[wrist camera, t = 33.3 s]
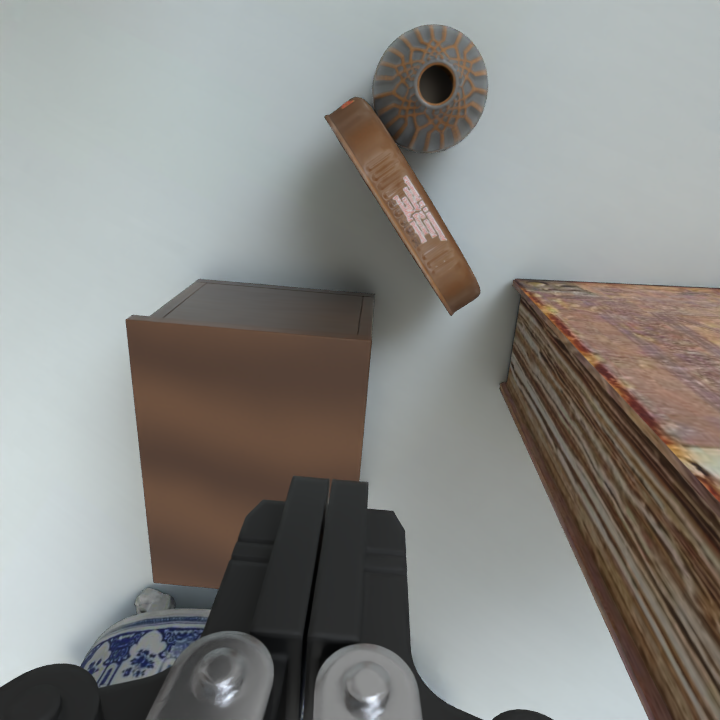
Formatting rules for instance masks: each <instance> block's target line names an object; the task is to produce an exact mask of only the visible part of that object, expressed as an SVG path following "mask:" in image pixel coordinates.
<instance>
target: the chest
mask: <svg viewBox="0 0 720 720" xmlns="http://www.w3.org/2000/svg"><path fill="white" fill-rule="evenodd" d="M374 300H375V294H368V293H357V292H345V291H333V290H321V289H310V288H298V287H286V286H275V285H263V284H251V283H240V282H228V281H216V280H205V279H198V280H197V281H196V282H194V283H193V284H192V285H190V286H189V287H188V288H186V289H185V290H184V291H182V292H181V293H180V294H178V295H177V296H176V297H174V298H173V299H172V300H170V301H169V302H168V303H166V304H165V305H164V306H162V307H161V308H160V309H158V310H157V311H156V312H154V313H153V314H152V315H150V316H151V317H162V318H174V319H185V320H197V321H209V322H220V323H232V324H243V325H255V326H266V327H278V328H289V329H301V330H313V331H324V332H336V333H347V334H359V335H370V336H372V328H373V314H374Z"/></svg>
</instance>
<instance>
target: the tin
mask: <svg viewBox="0 0 720 720" xmlns="http://www.w3.org/2000/svg"><path fill="white" fill-rule="evenodd" d="M325 119H326V120H327V122H328V124H329V125H330V127H331V129H332V130H333V132H334V133H335V135H336V137H337V138H338V140H339V142H340V144H341V145H342V147H343V148H344V150H345V151H346V153H347V155H348V156H349V158H350V159H351V161H352V162H353V164H354V165H355V167H356V168H357V170H358V172H359V173H360V175H361V177H362V178H363V180H364V181H365V183H366V184H367V186H368V188H369V189H370V191H371V192H372V194H373V195H374V197H375V199H376V200H377V202H378V203H379V205H380V206H381V208H382V210H383V211H384V213H385V214H386V216H387V217H388V219H389V221H390V222H391V224H392V225H393V227H394V229H395V230H396V232H397V233H398V235H399V237H400V238H401V240H402V241H403V243H404V245H405V246H406V248H407V249H408V251H409V252H410V254H411V255H412V257H413V259H414V260H415V262H416V263H417V265H418V266H419V268H420V269H421V271H422V272H423V274H424V276H425V277H426V279H427V280H428V282H429V283H430V285H431V286H432V288H433V289H434V291H435V292H436V294H437V295H438V297H439V299H440V300H441V302H442V303H443V305H444V306H445V308H446V310H447V311H448V313H449V314H450V316H452V315H453V313H454V312H455V311H457V310H459V309H460V308H462V307H463V306H465V305H467V304H468V303H470V302H471V301H473V300H474V299H476V298H477V297H478V296H479V294H480V287H479V285H478V282H477V280H476V278H475V276H474V274H473V272H472V270H471V268H470V267H469V265H468V263H467V261H466V260H465V258H464V256H463V254H462V252H461V251H460V249H459V247H458V245H457V244H456V242H455V240H454V239H453V237H452V235H451V234H450V232H449V230H448V229H447V227H446V225H445V223H444V222H443V220H442V218H441V217H440V215H439V213H438V211H437V210H436V208H435V206H434V205H433V203H432V201H431V200H430V198H429V196H428V195H427V193H426V192H425V190H424V188H423V187H422V185H421V183H420V182H419V180H418V178H417V177H416V175H415V173H414V172H413V170H412V169H411V167H410V165H409V164H408V162H407V161H406V159H405V157H404V156H403V154H402V153H401V151H400V149H399V148H398V146H397V144H396V143H395V141H394V140H393V138H392V137H391V135H390V133H389V132H388V130H387V129H386V127H385V126H384V124H383V123H382V121H381V120H380V118H379V117H378V116H377V114H376V113H375V112H374V110H373V109H372V108H371V106H370V105H369V104H368V103H367V102H366V101H365V100H364V99H362V98H359V97H354V98H352V99H350V100H349V101H347V102H346V103H345V104H343V105H342V106H341V107H339V108H338V109H337V110H336V111H334V112H333V113H332V114H330V115H325Z"/></svg>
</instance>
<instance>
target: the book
mask: <svg viewBox="0 0 720 720" xmlns="http://www.w3.org/2000/svg"><path fill="white" fill-rule="evenodd" d="M512 286H513V287H514V288H515V289H516V290H517V291H518V292H519V293H520V295H521V299H520V305H519V311H518V318H517V324H516V330H515V336H514V342H513V348H512V355H511V361H510V367H509V373H508V379H507V382H502V383H501V384H500V391H501V393H502V395H503V397H504V400H505V402H506V404H507V406H508V409H509V411H510V413H511V415H512V417H513V420H514V422H515V424H516V426H517V428H518V431H519V433H520V435H521V437H522V440H523V442H524V444H525V446H526V448H527V451H528V453H529V455H530V457H531V459H532V462H533V464H534V466H535V468H536V471H537V473H538V475H539V477H540V479H541V482H542V484H543V486H544V488H545V490H546V493H547V495H548V497H549V499H550V502H551V504H552V506H553V508H554V510H555V513H556V515H557V517H558V519H559V521H560V524H561V526H562V528H563V530H564V533H565V535H566V537H567V539H568V541H569V544H570V546H571V548H572V550H573V552H574V555H575V557H576V559H577V561H578V564H579V566H580V568H581V570H582V572H583V575H584V577H585V579H586V581H587V584H588V586H589V588H590V590H591V592H592V595H593V597H594V599H595V601H596V603H597V606H598V608H599V610H600V612H601V615H602V617H603V619H604V621H605V623H606V626H607V628H608V630H609V632H610V634H611V637H612V639H613V641H614V643H615V646H616V648H617V650H618V652H619V654H620V657H621V659H622V661H623V663H624V665H625V668H626V670H627V672H628V674H629V677H630V679H631V681H632V683H633V685H634V688H635V690H636V692H637V694H638V696H639V699H640V701H641V703H642V705H643V708H644V710H645V712H646V714H647V716H648V719H649V720H720V288H703V287H682V286H661V285H639V284H618V283H597V282H576V281H554V280H533V279H515V280H513V284H512Z"/></svg>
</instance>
